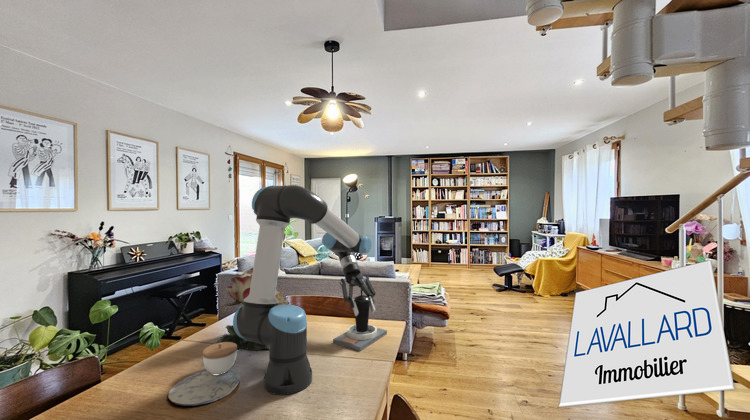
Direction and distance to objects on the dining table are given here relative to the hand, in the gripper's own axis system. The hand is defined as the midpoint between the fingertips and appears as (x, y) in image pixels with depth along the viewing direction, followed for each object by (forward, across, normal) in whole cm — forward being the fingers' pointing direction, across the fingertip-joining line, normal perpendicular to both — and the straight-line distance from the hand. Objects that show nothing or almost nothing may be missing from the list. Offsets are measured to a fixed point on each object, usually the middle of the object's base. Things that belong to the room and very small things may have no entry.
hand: (365, 312), depth 135 cm
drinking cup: (+4, 0, -9) cm, 9 cm away
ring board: (+6, +1, -10) cm, 12 cm away
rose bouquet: (-9, +40, -25) cm, 48 cm away
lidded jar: (+8, +55, -9) cm, 56 cm away
